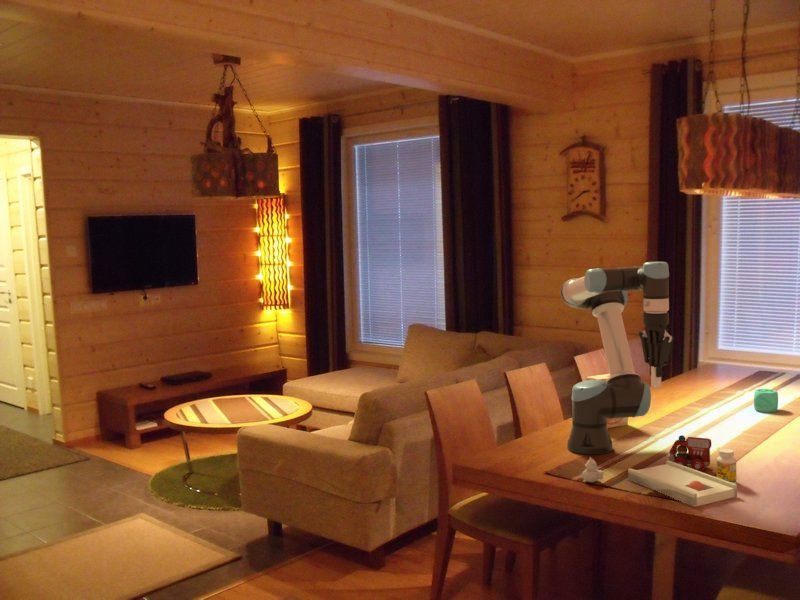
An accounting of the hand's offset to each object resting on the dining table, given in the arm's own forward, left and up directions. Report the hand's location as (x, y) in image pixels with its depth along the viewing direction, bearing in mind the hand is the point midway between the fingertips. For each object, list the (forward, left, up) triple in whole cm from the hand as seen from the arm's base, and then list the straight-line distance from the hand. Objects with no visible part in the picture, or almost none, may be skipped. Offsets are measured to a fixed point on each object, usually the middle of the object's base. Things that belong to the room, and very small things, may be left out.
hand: (656, 386), depth 238 cm
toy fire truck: (+5, +9, -27) cm, 28 cm away
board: (+17, -7, -26) cm, 32 cm away
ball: (+23, -7, -24) cm, 34 cm away
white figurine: (0, -25, -27) cm, 36 cm away
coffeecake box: (-49, +21, -27) cm, 60 cm away
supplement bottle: (+20, +8, -27) cm, 34 cm away
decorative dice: (-34, +89, -27) cm, 99 cm away
